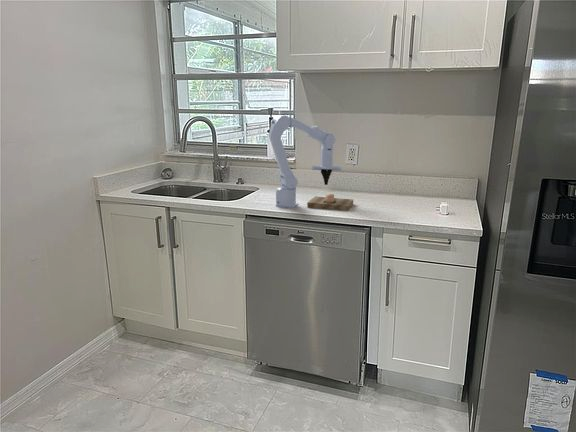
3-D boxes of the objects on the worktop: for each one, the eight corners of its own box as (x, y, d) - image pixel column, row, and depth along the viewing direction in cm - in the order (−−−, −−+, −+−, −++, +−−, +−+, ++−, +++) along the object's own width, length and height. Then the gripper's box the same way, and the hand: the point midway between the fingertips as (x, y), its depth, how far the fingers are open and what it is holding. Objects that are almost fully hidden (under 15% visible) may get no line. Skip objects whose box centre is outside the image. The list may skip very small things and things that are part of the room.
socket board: (307, 207, 208) (307, 202, 207) (314, 201, 221) (314, 196, 220) (347, 210, 202) (348, 205, 201) (353, 204, 214) (353, 199, 214)
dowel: (324, 207, 208) (324, 195, 206) (326, 205, 212) (326, 193, 210) (332, 208, 207) (333, 196, 205) (334, 206, 210) (335, 194, 209)
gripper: (311, 158, 209) (310, 185, 213) (340, 159, 206) (339, 186, 210) (313, 156, 216) (312, 182, 220) (342, 157, 213) (341, 183, 217)
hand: (326, 184), depth 215 cm, fingers closed
